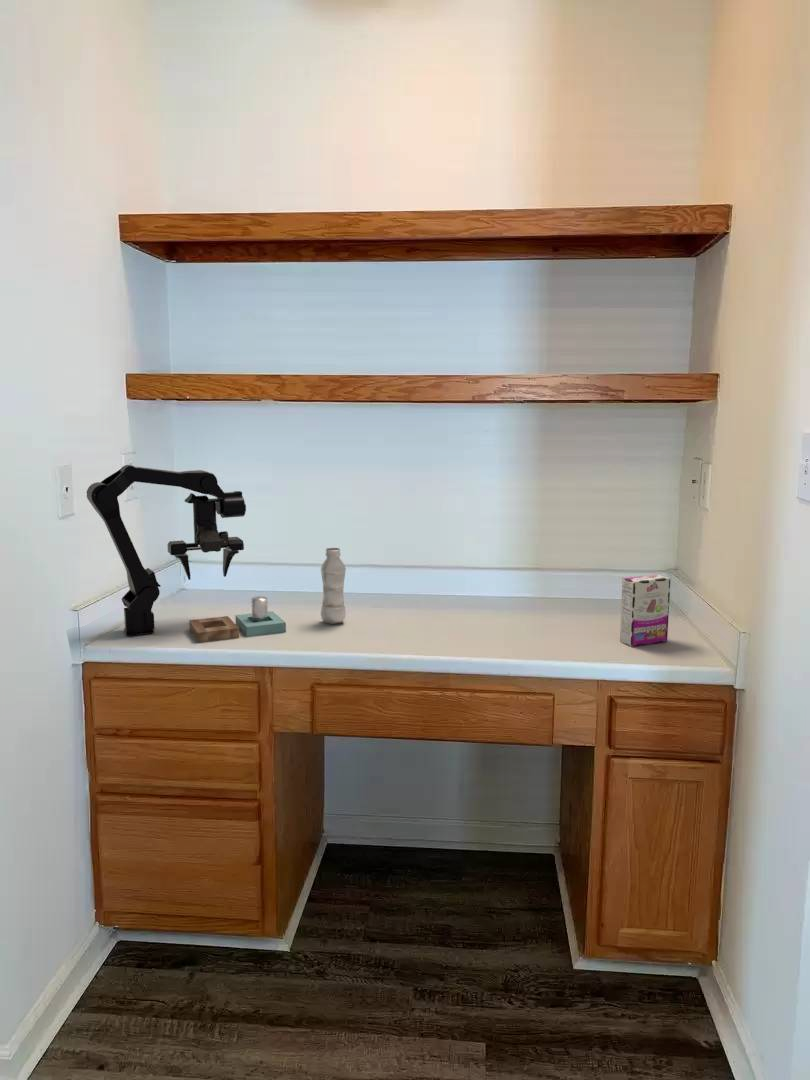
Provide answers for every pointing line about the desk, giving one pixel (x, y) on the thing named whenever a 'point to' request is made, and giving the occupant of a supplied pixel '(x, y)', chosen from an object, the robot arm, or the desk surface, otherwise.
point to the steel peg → (259, 609)
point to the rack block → (260, 625)
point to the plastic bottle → (333, 587)
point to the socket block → (213, 629)
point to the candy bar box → (645, 610)
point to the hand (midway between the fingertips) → (207, 578)
